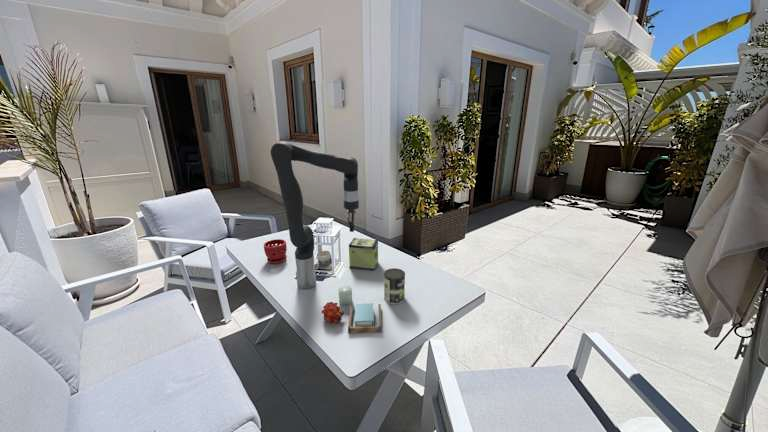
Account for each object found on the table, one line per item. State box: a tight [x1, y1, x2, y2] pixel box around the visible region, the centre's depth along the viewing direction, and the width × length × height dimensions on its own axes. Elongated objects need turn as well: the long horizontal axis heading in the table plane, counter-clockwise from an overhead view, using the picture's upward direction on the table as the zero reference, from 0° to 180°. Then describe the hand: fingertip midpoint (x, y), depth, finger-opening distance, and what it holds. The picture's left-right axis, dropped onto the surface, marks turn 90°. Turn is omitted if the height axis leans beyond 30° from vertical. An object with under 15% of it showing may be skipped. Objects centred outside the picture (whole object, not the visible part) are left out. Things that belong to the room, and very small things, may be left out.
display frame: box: [347, 303, 382, 334], centre depth 133 cm, size 14×16×2 cm
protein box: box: [348, 237, 379, 271], centre depth 178 cm, size 10×16×16 cm
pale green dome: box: [337, 285, 353, 307], centre depth 145 cm, size 6×6×7 cm
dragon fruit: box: [321, 301, 345, 325], centre depth 133 cm, size 8×8×12 cm
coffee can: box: [383, 268, 406, 305], centre depth 146 cm, size 10×10×14 cm
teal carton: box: [354, 302, 375, 327], centre depth 133 cm, size 8×12×4 cm, turn 3°
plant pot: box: [263, 238, 288, 264], centre depth 185 cm, size 13×13×12 cm
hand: (351, 231), depth 153 cm, fingers closed
